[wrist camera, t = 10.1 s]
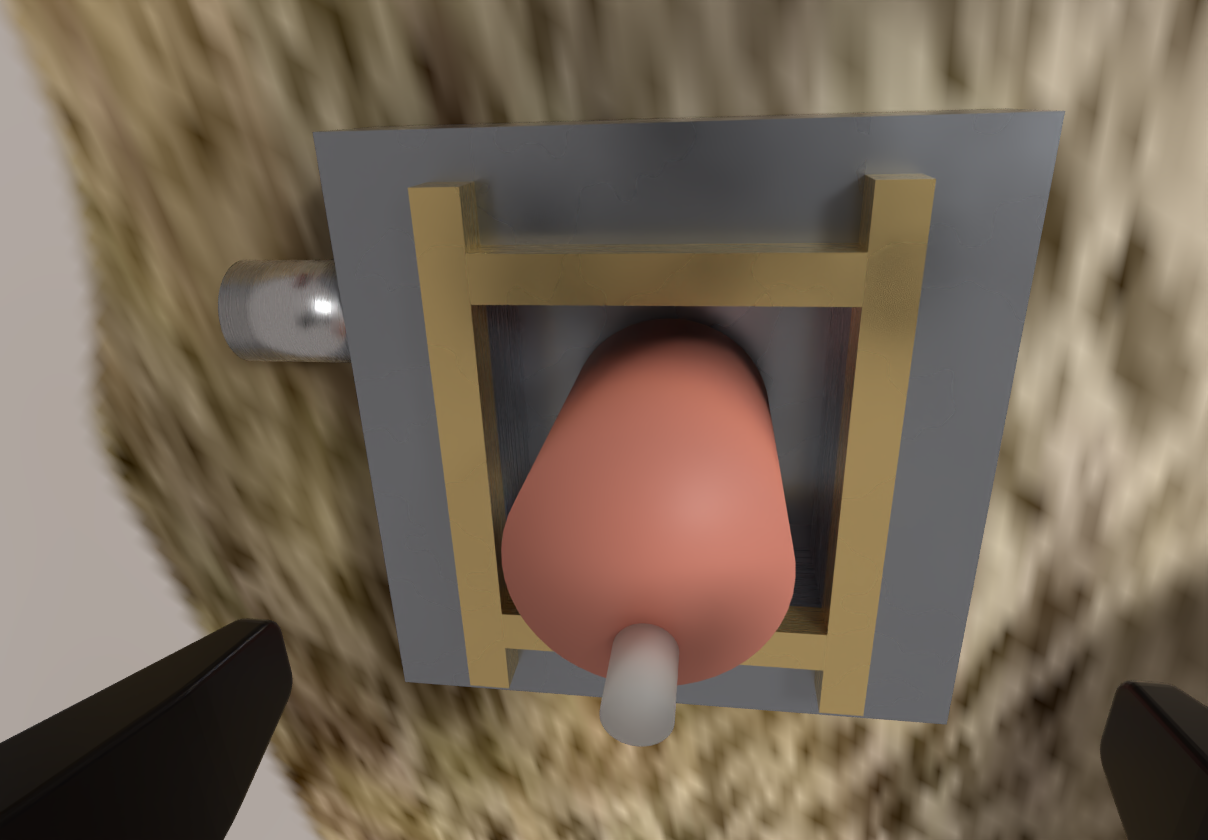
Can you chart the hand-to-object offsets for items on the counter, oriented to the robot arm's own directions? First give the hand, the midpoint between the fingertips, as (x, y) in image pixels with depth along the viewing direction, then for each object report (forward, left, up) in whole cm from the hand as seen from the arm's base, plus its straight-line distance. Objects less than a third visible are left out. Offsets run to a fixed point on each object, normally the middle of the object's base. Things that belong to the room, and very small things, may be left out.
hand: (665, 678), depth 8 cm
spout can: (+1, +2, -11) cm, 11 cm away
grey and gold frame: (+2, +2, -12) cm, 12 cm away
